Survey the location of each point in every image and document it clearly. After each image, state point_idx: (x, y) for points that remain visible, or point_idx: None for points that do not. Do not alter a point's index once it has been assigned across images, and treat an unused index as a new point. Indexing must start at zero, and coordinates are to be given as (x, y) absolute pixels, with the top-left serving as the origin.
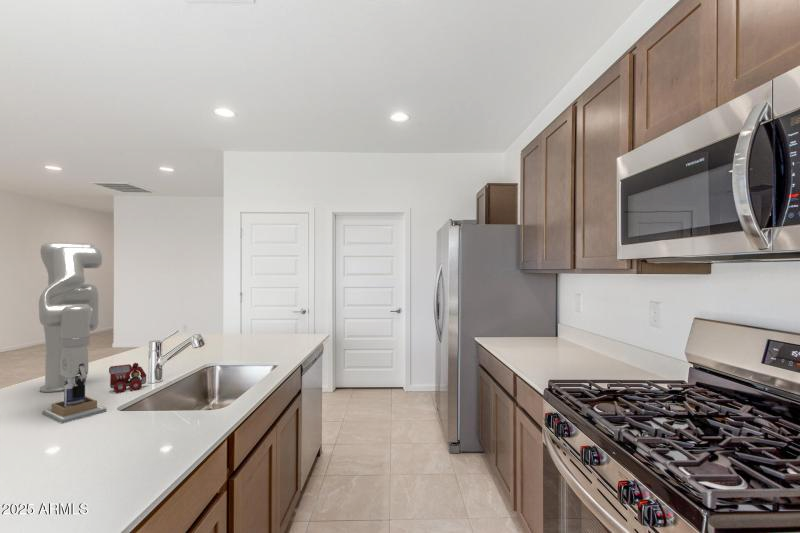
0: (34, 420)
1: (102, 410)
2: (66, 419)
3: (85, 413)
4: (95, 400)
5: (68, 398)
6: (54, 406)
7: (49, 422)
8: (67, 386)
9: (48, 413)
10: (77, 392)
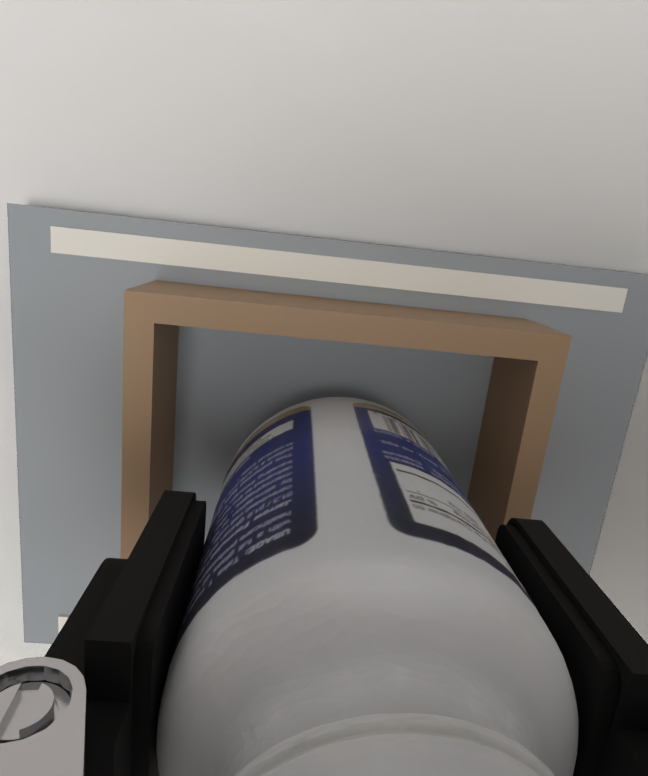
0: (475, 110)
1: (28, 600)
2: (10, 253)
3: (41, 460)
4: None
5: (275, 460)
6: (460, 322)
7: (215, 157)
8: (308, 594)
9: (473, 260)
10: (82, 594)
